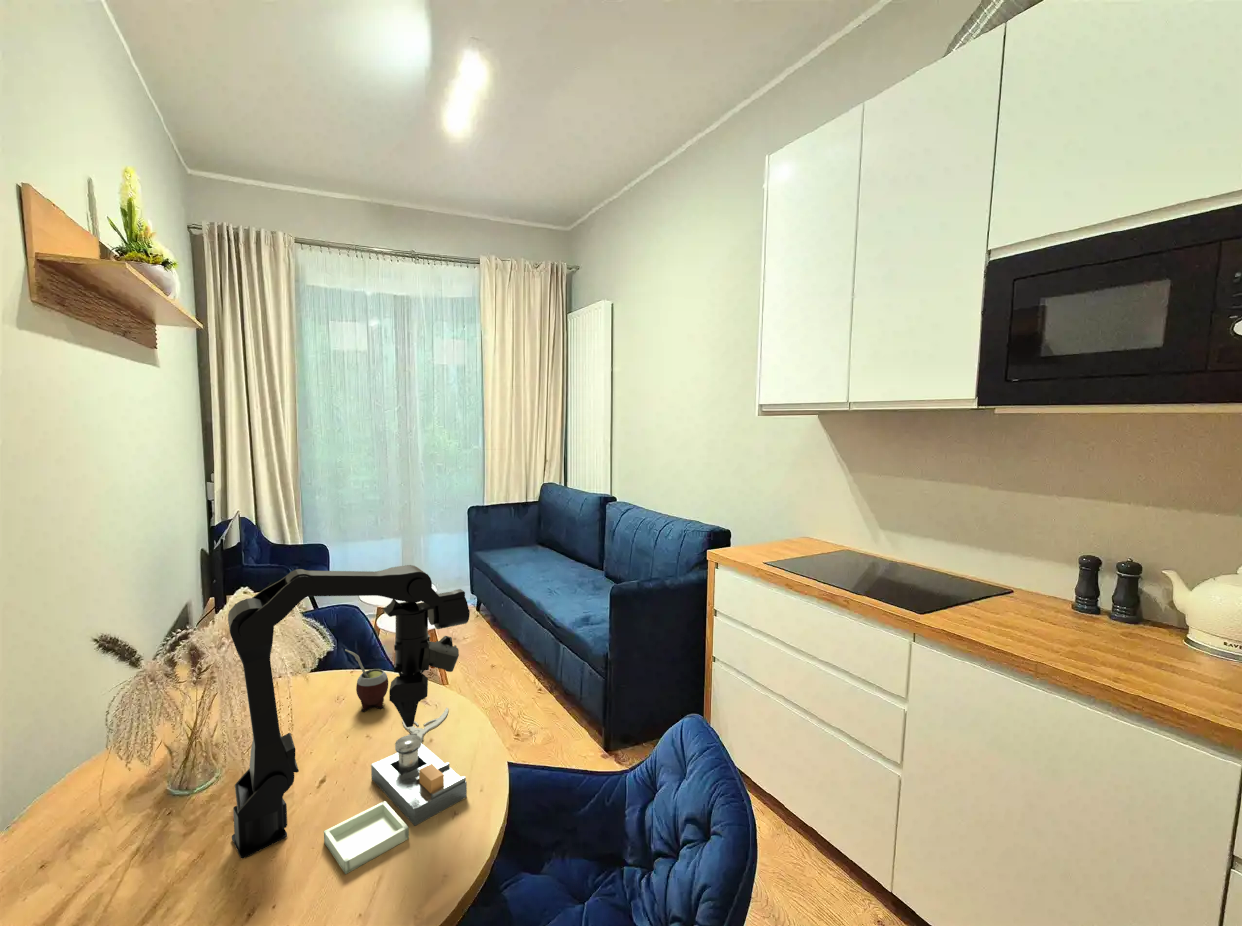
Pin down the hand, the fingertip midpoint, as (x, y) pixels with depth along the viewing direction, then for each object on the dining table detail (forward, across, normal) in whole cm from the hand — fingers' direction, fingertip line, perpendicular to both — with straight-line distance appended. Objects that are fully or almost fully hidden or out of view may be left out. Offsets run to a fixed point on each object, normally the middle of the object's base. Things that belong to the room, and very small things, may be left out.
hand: (411, 713), depth 104 cm
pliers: (+14, +19, -1) cm, 23 cm away
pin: (+13, +1, 0) cm, 13 cm away
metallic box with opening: (+13, -3, -1) cm, 14 cm away
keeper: (+10, -7, -4) cm, 13 cm away
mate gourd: (+14, +32, +11) cm, 36 cm away
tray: (+14, -14, +6) cm, 20 cm away
